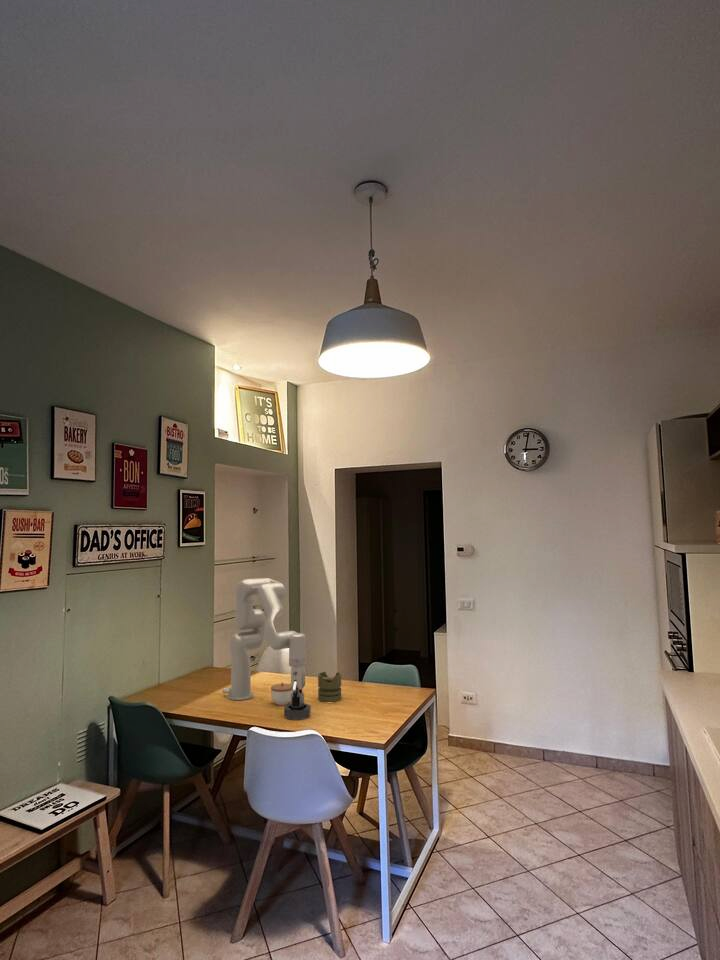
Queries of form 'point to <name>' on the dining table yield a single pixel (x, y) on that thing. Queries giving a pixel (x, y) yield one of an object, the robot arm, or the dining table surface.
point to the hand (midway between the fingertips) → (297, 703)
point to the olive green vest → (329, 687)
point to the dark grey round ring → (297, 712)
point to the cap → (300, 701)
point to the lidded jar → (281, 693)
